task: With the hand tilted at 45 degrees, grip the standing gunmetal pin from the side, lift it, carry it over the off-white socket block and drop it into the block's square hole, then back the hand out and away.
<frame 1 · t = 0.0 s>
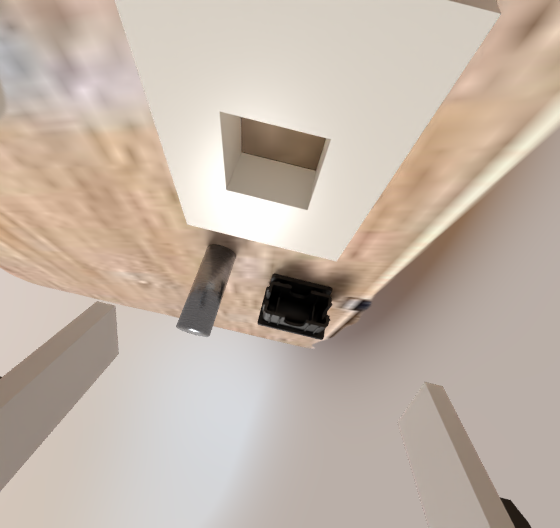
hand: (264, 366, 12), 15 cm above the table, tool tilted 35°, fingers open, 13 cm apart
pin: (221, 252, 37), on the table
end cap: (299, 287, 43), on the table
socket block: (283, 127, 19), on the table
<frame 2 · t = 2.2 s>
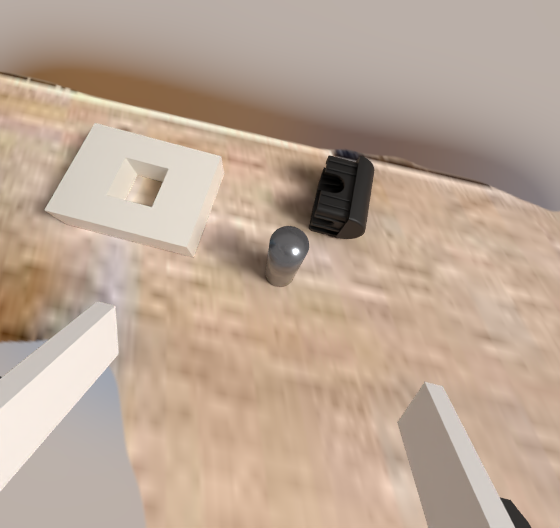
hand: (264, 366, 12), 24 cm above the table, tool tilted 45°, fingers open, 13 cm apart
pin: (279, 272, 38), on the table
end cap: (336, 210, 42), on the table
socket block: (149, 197, 40), on the table
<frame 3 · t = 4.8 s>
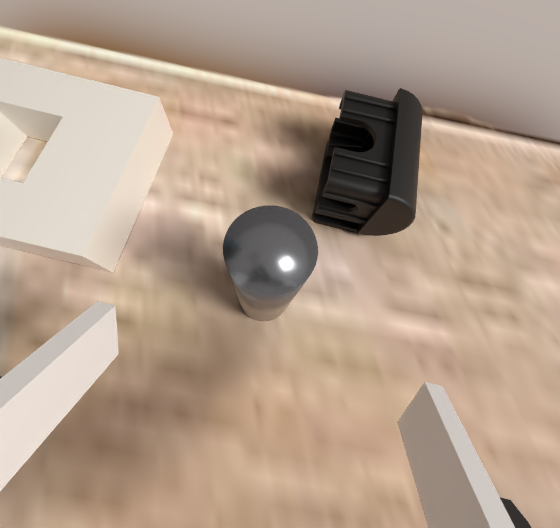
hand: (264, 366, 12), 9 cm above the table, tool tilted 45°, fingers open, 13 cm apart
pin: (264, 295, 22), on the table
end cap: (355, 190, 26), on the table
socket block: (44, 172, 24), on the table
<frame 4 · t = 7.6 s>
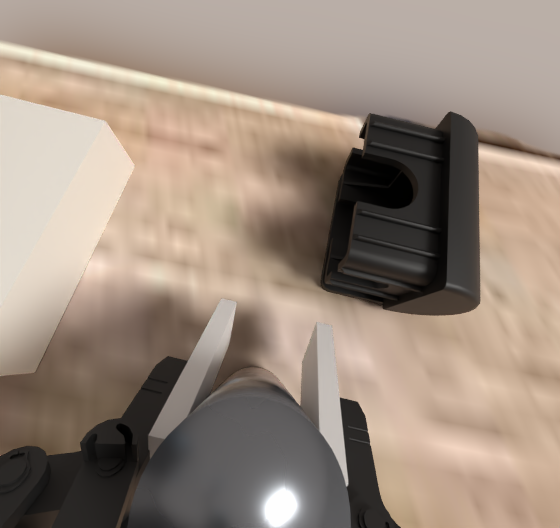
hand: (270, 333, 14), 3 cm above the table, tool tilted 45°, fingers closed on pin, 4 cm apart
pin: (252, 404, 15), on the table, touching gripper
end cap: (377, 241, 19), on the table
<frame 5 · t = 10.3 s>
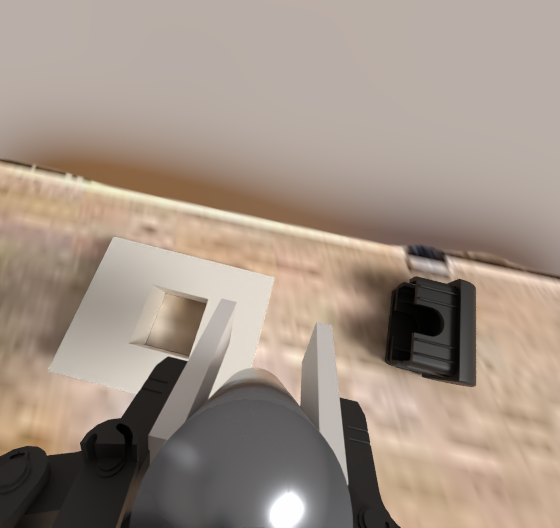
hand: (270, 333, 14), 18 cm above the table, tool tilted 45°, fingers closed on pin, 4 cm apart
pin: (252, 405, 15), point 15 cm above the table, touching gripper
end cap: (416, 331, 33), on the table
socket block: (181, 324, 31), on the table
when the fingers open (6 cm above the table, at t = 13.3 s): pin drops 3 cm, resting in socket block.
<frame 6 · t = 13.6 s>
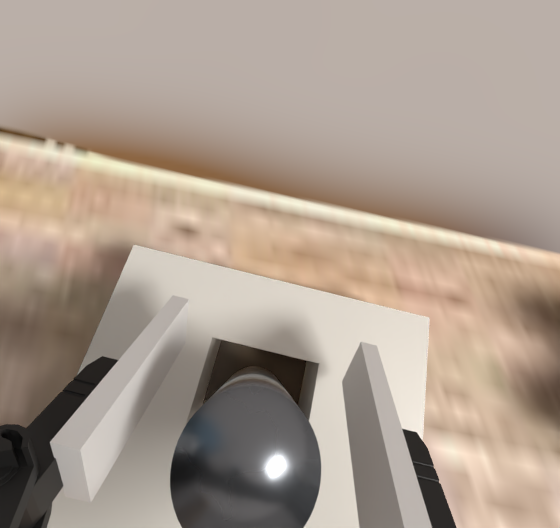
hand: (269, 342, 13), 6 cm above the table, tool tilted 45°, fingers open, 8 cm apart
pin: (252, 398, 18), resting in socket block
socket block: (252, 397, 18), on the table
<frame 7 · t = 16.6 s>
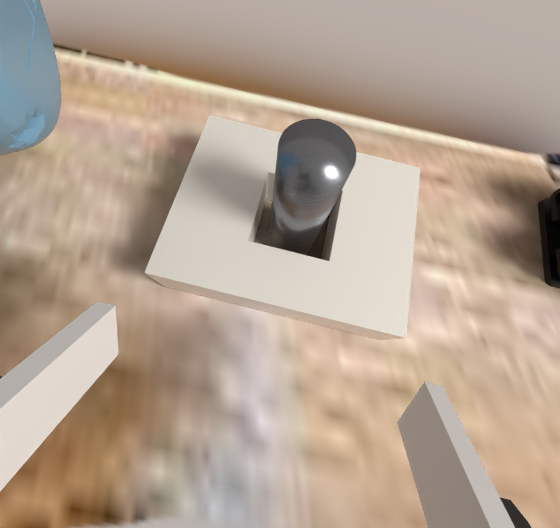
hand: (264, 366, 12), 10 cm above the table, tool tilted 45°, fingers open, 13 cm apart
pin: (291, 236, 24), resting in socket block
socket block: (291, 236, 24), on the table
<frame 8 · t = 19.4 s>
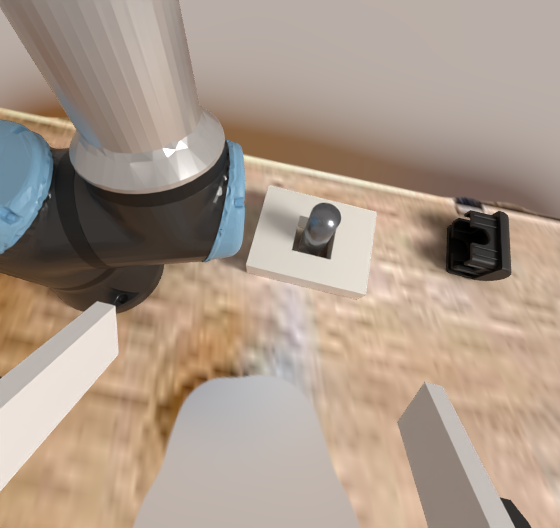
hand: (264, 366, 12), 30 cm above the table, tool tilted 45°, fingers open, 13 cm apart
pin: (310, 247, 46), resting in socket block
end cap: (464, 253, 48), on the table
socket block: (310, 246, 46), on the table
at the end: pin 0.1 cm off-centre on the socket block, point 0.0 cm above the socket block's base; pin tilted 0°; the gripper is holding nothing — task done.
